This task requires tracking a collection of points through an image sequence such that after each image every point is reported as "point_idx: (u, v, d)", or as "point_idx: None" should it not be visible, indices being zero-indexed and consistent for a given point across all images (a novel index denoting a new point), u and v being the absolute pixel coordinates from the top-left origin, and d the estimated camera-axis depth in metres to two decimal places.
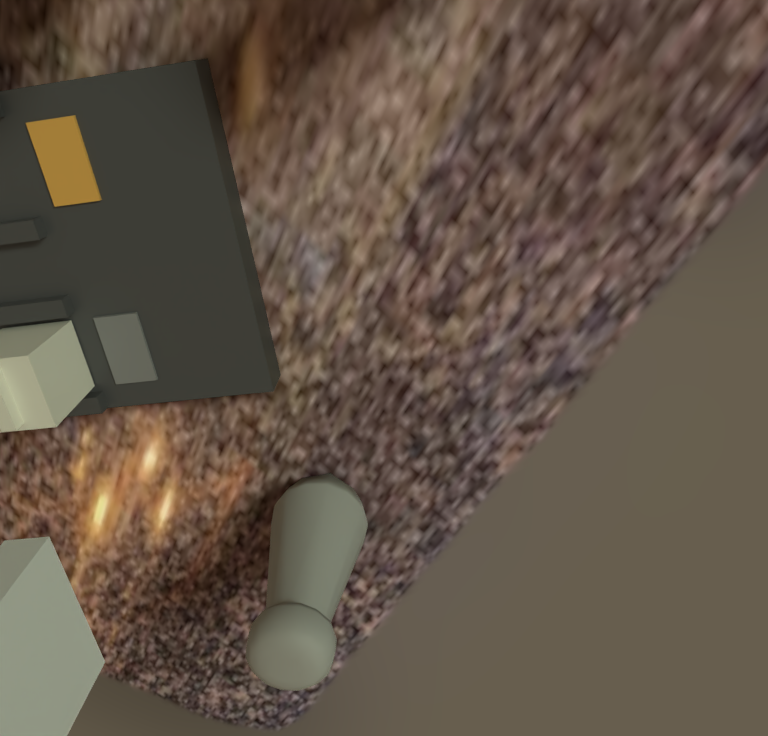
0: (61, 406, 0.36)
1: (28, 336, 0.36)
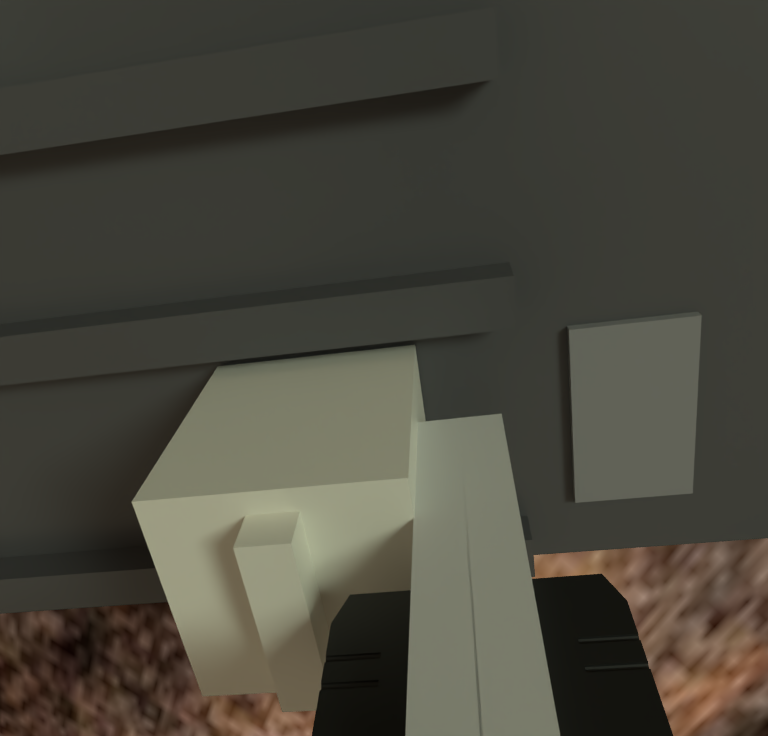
0: None
1: (331, 396, 0.12)
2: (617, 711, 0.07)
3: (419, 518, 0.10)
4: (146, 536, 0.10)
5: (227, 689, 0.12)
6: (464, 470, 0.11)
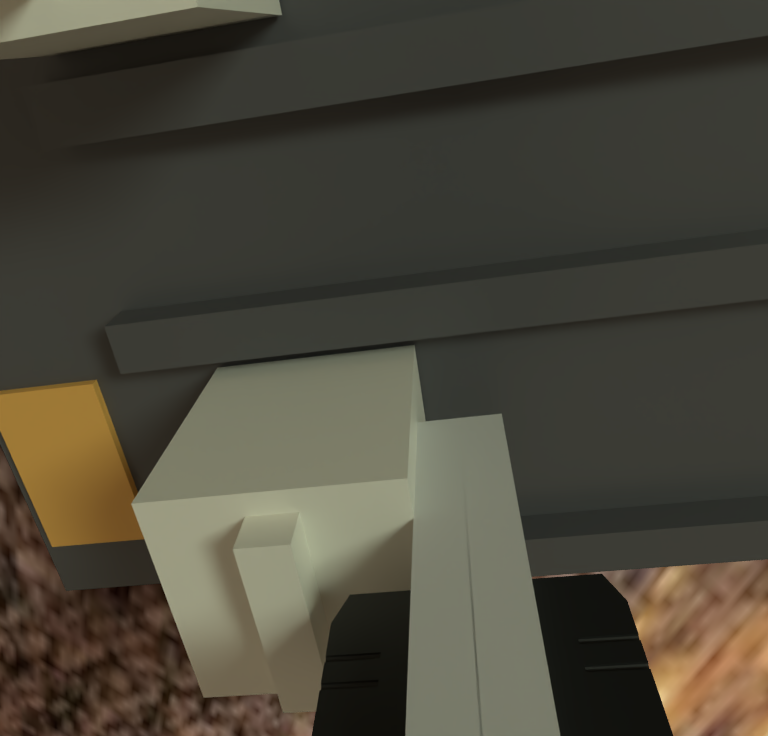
0: None
1: (330, 397, 0.12)
2: (616, 711, 0.07)
3: (419, 518, 0.10)
4: (145, 538, 0.10)
5: (227, 690, 0.12)
6: (464, 470, 0.11)
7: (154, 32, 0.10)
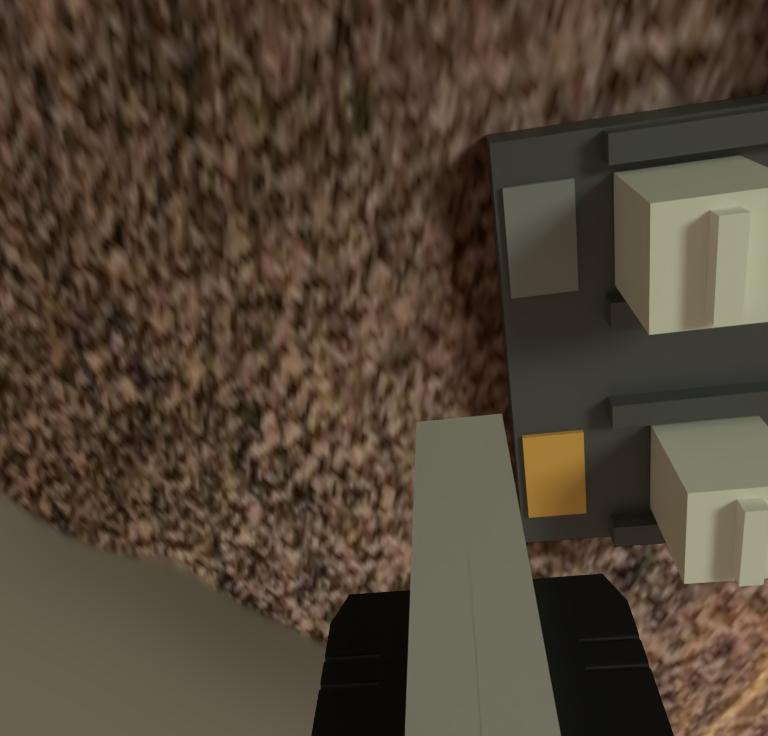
0: None
1: (738, 443, 0.26)
2: (616, 711, 0.07)
3: (419, 518, 0.10)
4: (686, 508, 0.24)
5: (697, 580, 0.25)
6: (464, 470, 0.11)
7: None
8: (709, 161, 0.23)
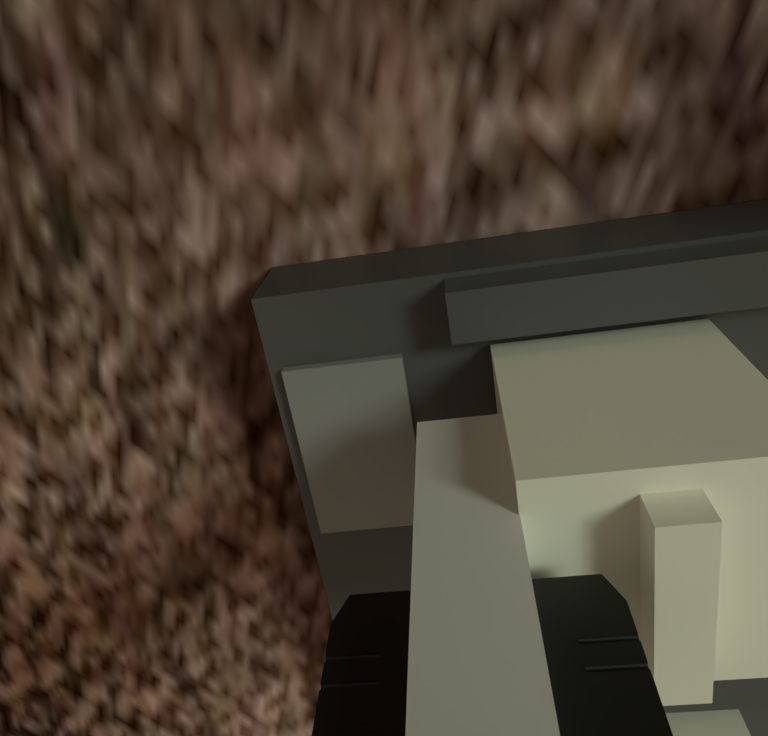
0: None
1: None
2: (616, 711, 0.07)
3: (419, 518, 0.10)
4: None
5: None
6: (464, 470, 0.11)
7: None
8: (655, 333, 0.13)
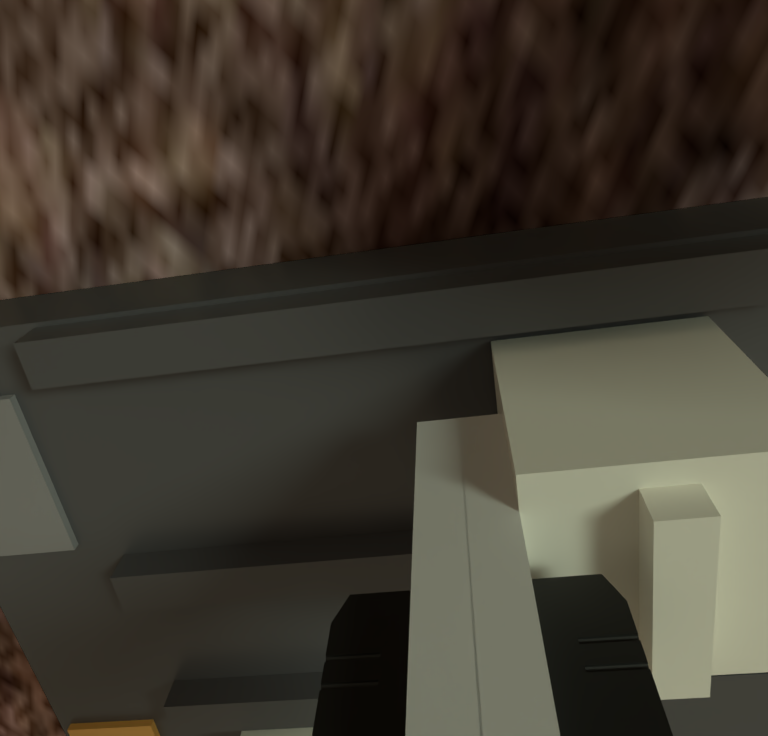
0: None
1: None
2: (616, 711, 0.07)
3: (419, 518, 0.10)
4: None
5: None
6: (464, 470, 0.11)
7: None
8: (654, 330, 0.13)
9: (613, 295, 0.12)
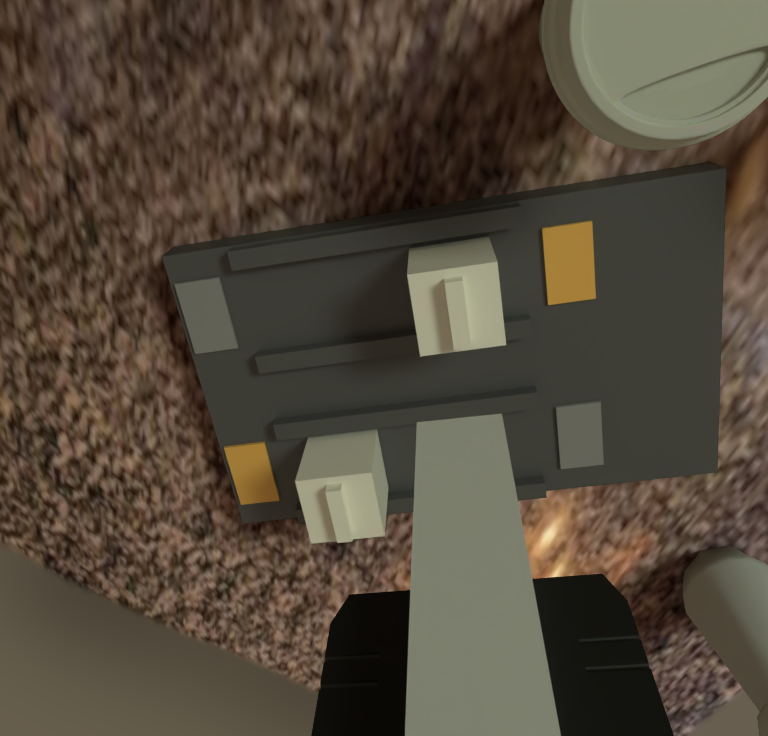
0: (383, 514, 0.38)
1: (349, 448, 0.38)
2: (616, 711, 0.07)
3: (419, 518, 0.10)
4: None
5: (319, 540, 0.37)
6: (464, 470, 0.11)
7: None
8: (467, 241, 0.34)
9: (449, 227, 0.34)
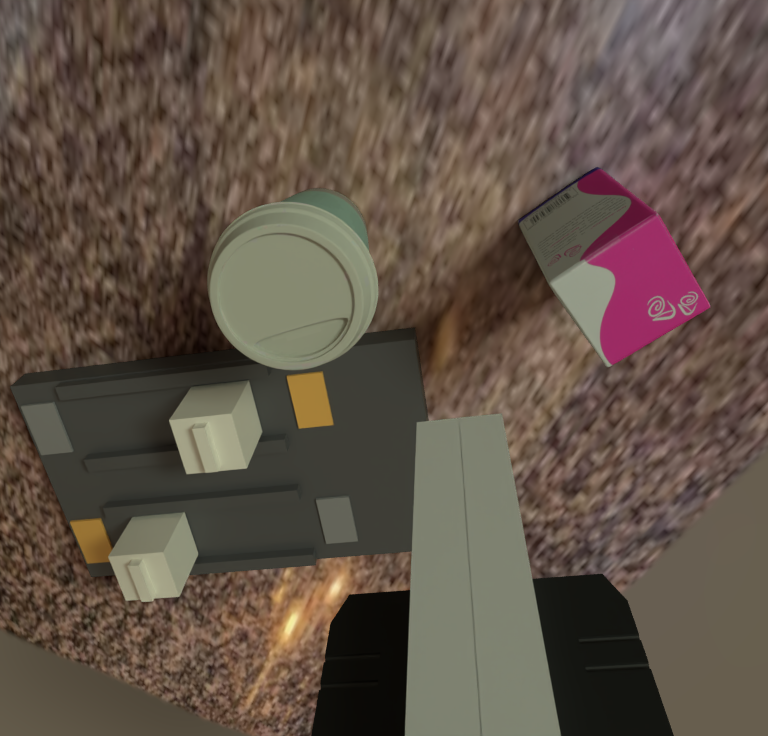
0: (181, 579, 0.50)
1: (157, 528, 0.50)
2: (617, 711, 0.07)
3: (419, 518, 0.10)
4: (111, 563, 0.48)
5: (131, 598, 0.50)
6: (465, 470, 0.11)
7: None
8: (232, 384, 0.46)
9: (215, 375, 0.46)
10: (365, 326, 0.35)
